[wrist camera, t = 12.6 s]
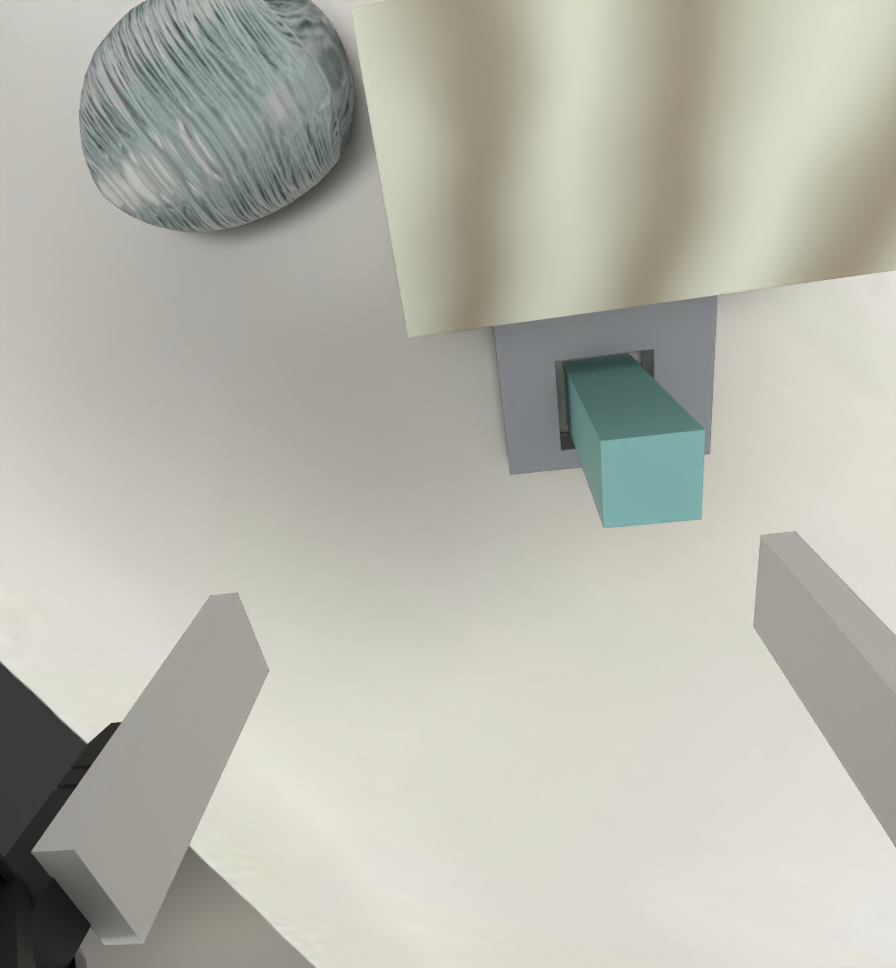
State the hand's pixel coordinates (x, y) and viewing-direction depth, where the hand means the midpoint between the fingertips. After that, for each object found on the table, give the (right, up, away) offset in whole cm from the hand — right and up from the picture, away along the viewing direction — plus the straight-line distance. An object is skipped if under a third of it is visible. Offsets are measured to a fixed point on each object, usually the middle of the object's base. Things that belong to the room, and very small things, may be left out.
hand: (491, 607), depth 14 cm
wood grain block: (+7, +20, +16) cm, 27 cm away
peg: (+8, +9, +21) cm, 25 cm away
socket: (+8, +12, +20) cm, 25 cm away
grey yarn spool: (-12, +23, +17) cm, 31 cm away
